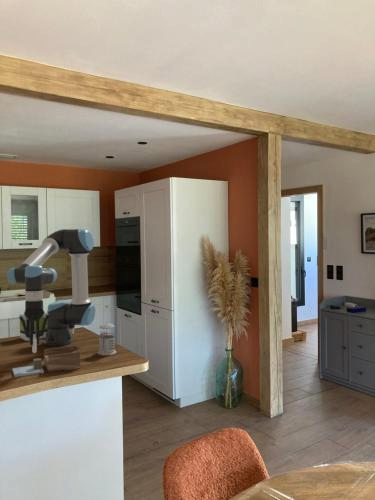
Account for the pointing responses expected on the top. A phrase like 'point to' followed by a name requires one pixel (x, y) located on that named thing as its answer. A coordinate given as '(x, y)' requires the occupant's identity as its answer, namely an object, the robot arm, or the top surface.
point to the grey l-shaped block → (29, 369)
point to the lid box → (61, 359)
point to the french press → (106, 340)
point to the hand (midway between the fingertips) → (34, 352)
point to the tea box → (22, 333)
